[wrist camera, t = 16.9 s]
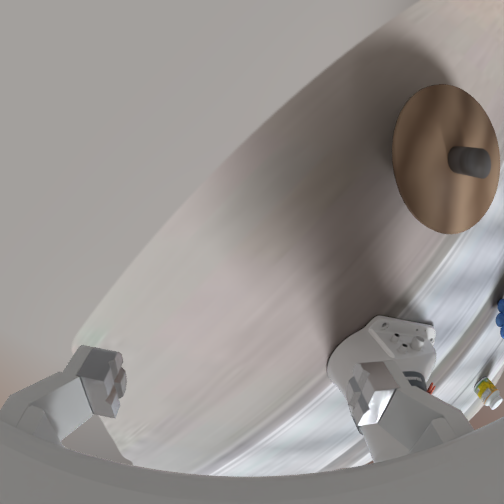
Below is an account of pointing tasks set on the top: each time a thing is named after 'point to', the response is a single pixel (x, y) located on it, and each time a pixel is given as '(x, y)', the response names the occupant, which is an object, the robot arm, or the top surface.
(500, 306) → the grapes
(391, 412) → the robot arm
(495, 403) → the supplement bottle
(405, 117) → the lid
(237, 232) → the top surface
